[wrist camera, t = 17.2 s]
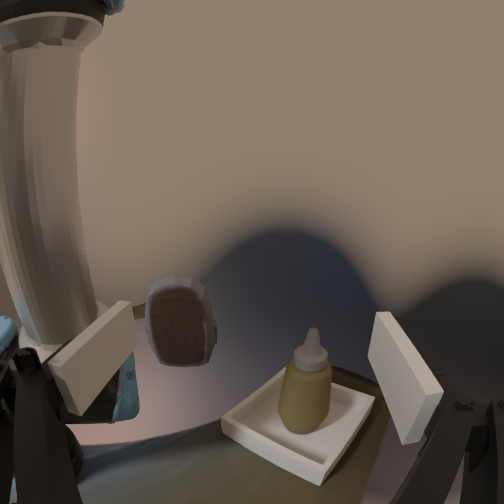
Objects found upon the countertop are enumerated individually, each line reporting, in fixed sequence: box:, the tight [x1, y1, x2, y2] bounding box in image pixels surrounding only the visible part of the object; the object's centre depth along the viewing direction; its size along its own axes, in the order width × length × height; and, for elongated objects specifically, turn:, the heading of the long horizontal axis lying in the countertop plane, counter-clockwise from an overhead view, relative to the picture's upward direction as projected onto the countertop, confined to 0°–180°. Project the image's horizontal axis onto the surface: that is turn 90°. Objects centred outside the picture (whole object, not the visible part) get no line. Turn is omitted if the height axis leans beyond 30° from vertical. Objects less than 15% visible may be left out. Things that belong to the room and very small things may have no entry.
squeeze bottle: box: [278, 328, 332, 435], centre depth 38 cm, size 8×8×18 cm
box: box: [221, 367, 375, 486], centre depth 40 cm, size 18×18×4 cm
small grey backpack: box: [145, 275, 217, 367], centre depth 58 cm, size 15×8×20 cm, turn 96°
